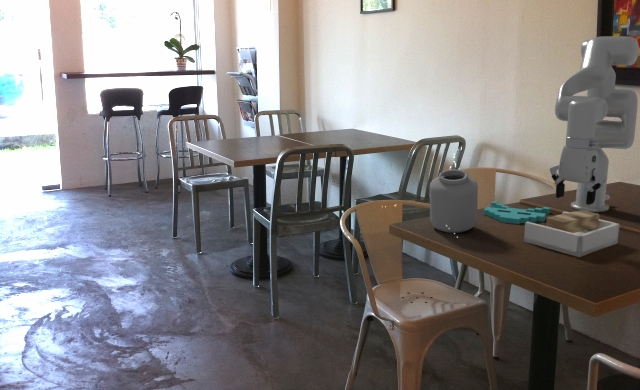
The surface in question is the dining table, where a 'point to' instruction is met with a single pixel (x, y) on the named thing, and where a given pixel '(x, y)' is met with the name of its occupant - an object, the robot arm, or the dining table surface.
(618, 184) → the dining table surface
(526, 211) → the alien figure
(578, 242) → the carcass
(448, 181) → the jar
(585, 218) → the shelf board
